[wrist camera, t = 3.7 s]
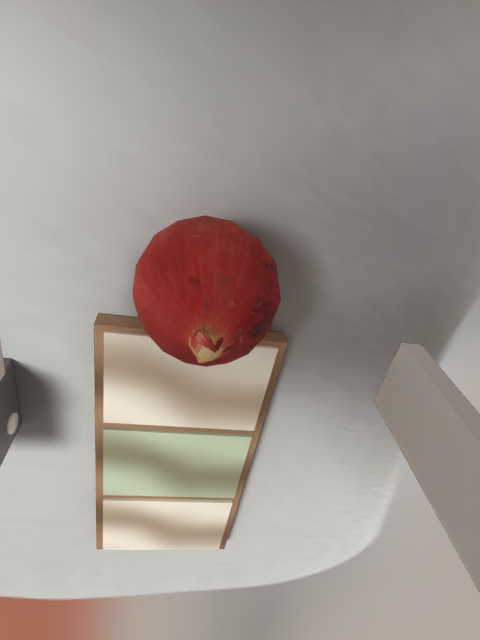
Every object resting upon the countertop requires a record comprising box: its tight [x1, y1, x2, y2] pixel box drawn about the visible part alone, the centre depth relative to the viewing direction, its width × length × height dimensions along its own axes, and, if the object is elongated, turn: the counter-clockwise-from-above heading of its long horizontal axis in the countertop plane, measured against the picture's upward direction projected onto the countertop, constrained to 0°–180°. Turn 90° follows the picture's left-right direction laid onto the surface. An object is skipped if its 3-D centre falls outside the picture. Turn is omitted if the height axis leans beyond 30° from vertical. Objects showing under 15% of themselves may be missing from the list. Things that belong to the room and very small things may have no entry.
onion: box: [133, 216, 281, 367], centre depth 16 cm, size 6×6×8 cm
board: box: [94, 313, 288, 550], centre depth 26 cm, size 21×10×1 cm, turn 169°
